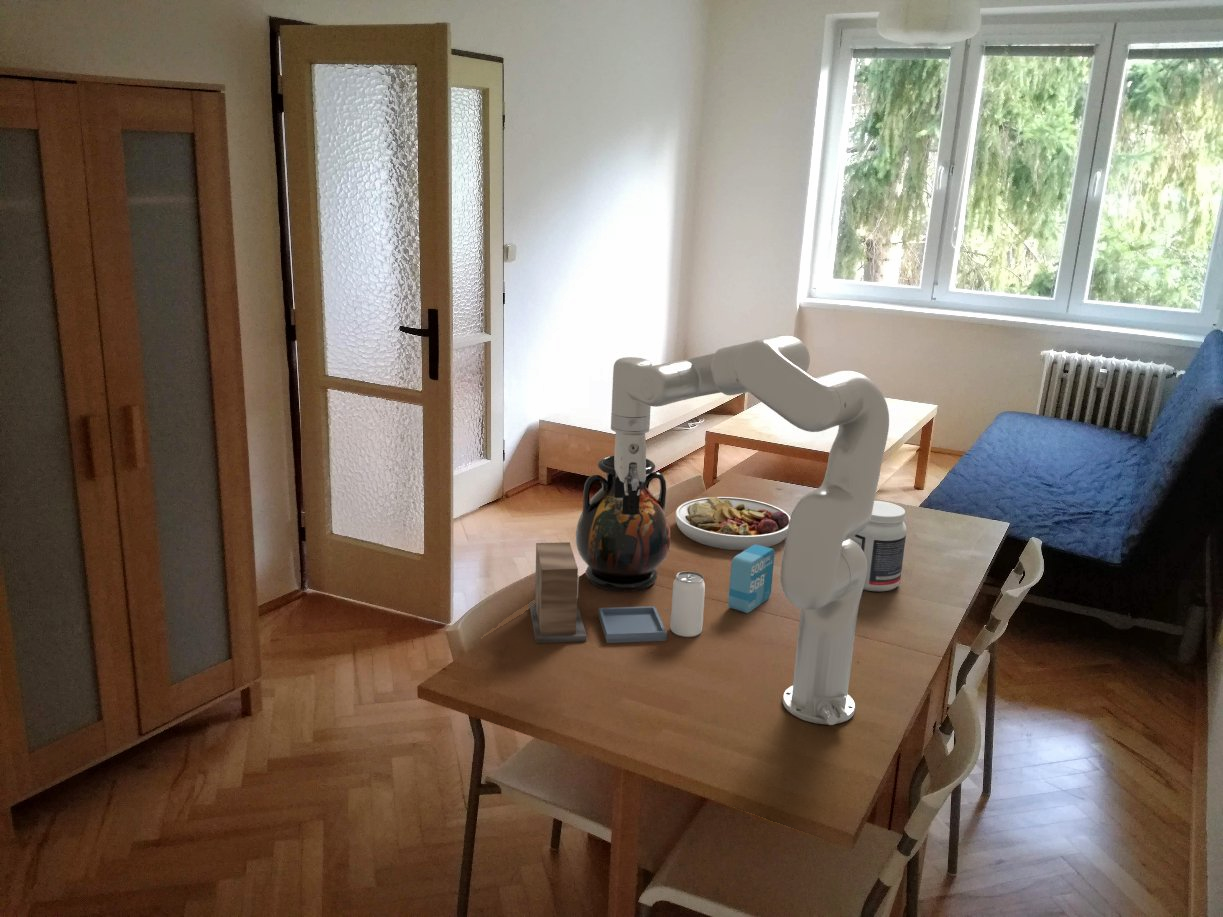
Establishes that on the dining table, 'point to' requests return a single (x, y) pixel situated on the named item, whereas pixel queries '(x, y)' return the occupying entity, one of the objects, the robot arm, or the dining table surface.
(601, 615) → the tray
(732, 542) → the bowl
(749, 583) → the data package
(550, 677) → the dining table surface
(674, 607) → the can
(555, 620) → the block
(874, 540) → the supplement tub
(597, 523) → the amphora vase
